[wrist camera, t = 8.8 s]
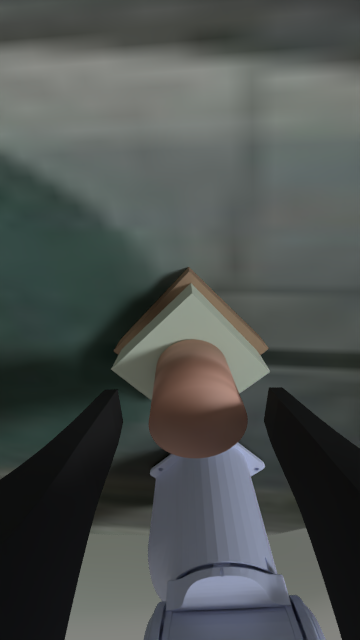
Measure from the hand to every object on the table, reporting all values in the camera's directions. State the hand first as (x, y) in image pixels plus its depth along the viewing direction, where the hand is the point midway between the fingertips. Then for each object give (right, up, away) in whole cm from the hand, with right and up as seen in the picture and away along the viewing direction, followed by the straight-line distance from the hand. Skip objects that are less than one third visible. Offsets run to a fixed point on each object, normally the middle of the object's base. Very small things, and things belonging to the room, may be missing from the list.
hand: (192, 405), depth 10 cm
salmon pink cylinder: (0, +1, +3) cm, 3 cm away
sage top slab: (0, +2, +5) cm, 6 cm away
